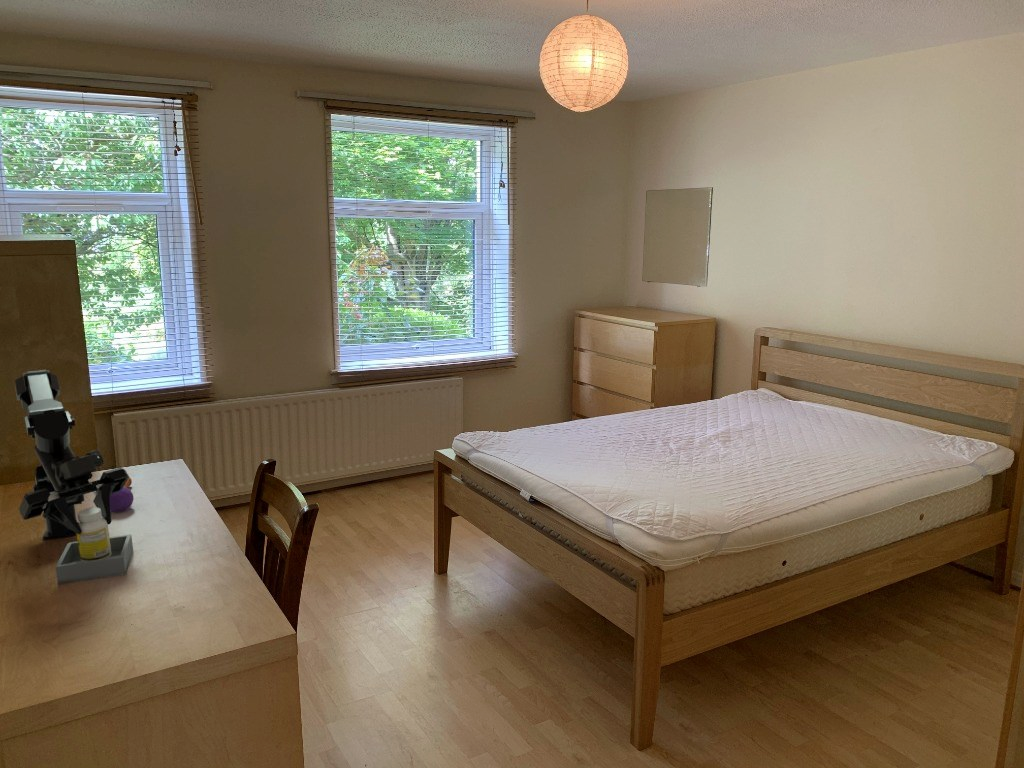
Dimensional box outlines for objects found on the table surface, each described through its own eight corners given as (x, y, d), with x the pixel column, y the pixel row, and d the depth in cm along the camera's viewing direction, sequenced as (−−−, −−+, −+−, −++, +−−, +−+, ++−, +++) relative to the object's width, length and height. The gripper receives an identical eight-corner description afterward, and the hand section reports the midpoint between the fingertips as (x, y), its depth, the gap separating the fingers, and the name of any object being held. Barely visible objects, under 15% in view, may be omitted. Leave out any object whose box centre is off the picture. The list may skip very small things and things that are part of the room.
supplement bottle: (88, 552, 150) (81, 506, 148) (116, 551, 151) (110, 505, 149) (75, 564, 145) (68, 517, 143) (104, 563, 146) (98, 516, 143)
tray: (70, 558, 152) (68, 542, 151) (133, 550, 155) (131, 534, 154) (58, 584, 141) (55, 567, 140) (125, 574, 145) (123, 557, 144)
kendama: (138, 470, 193) (133, 490, 174) (136, 493, 193) (131, 515, 175) (112, 469, 190) (104, 489, 172) (110, 493, 191) (102, 514, 172)
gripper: (16, 453, 137) (53, 523, 134) (118, 428, 152) (154, 492, 148) (4, 485, 144) (39, 553, 140) (103, 458, 158) (137, 520, 155)
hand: (95, 528), depth 146 cm, fingers closed on supplement bottle, 5 cm apart
